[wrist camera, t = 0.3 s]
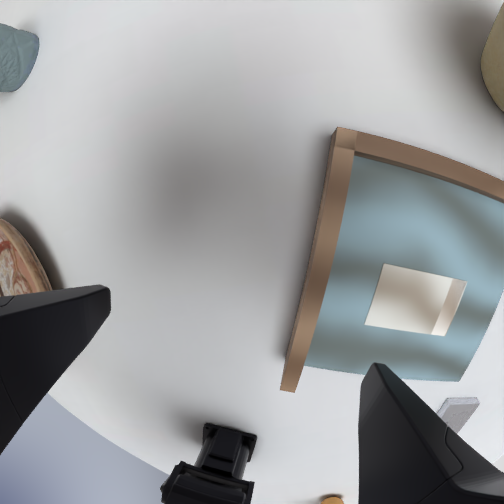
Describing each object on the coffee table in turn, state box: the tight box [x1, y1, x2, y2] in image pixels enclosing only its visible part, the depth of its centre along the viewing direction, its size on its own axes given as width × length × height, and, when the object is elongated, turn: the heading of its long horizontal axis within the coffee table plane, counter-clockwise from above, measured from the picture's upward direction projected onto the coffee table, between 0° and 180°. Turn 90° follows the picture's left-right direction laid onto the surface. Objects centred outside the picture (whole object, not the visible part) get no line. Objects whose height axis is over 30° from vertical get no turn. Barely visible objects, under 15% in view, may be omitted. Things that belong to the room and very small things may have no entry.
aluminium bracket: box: [437, 397, 480, 434], centre depth 21 cm, size 8×5×6 cm, turn 172°
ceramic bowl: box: [0, 218, 52, 297], centre depth 29 cm, size 23×24×5 cm
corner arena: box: [280, 127, 504, 393], centre depth 19 cm, size 19×19×4 cm
